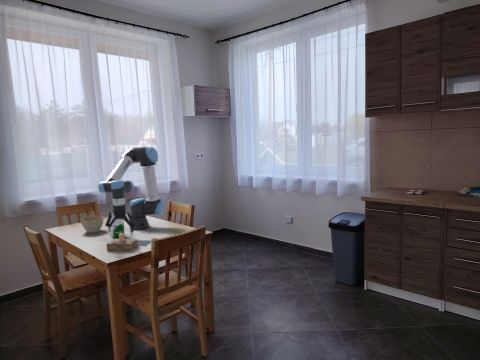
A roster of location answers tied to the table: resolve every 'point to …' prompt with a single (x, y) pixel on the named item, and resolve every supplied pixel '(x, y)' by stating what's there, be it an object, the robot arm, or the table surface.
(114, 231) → the milk carton
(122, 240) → the peg
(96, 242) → the table surface
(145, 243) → the mat
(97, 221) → the planter bowl
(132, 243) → the hole block
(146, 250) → the table surface
